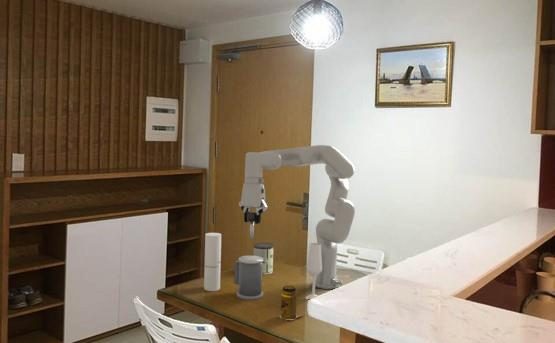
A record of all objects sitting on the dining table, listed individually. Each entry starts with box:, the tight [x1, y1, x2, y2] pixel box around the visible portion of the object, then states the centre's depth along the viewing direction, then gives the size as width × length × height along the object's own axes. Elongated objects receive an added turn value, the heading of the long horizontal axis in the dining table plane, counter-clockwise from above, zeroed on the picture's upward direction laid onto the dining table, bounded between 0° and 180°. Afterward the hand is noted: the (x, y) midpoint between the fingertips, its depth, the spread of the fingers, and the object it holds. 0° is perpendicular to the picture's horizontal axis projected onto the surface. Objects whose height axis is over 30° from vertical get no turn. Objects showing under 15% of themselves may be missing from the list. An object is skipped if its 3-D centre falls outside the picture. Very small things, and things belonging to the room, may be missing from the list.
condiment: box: [280, 285, 298, 320], centre depth 192 cm, size 7×8×12 cm
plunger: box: [247, 210, 256, 239], centre depth 214 cm, size 5×5×11 cm
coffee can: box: [253, 242, 274, 275], centre depth 253 cm, size 10×10×14 cm
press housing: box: [233, 255, 264, 301], centre depth 216 cm, size 14×12×16 cm
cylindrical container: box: [203, 232, 222, 292], centre depth 223 cm, size 7×7×25 cm
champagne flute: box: [305, 242, 322, 300], centre depth 215 cm, size 7×7×24 cm
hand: (252, 222), depth 214 cm, fingers closed on plunger, 5 cm apart
